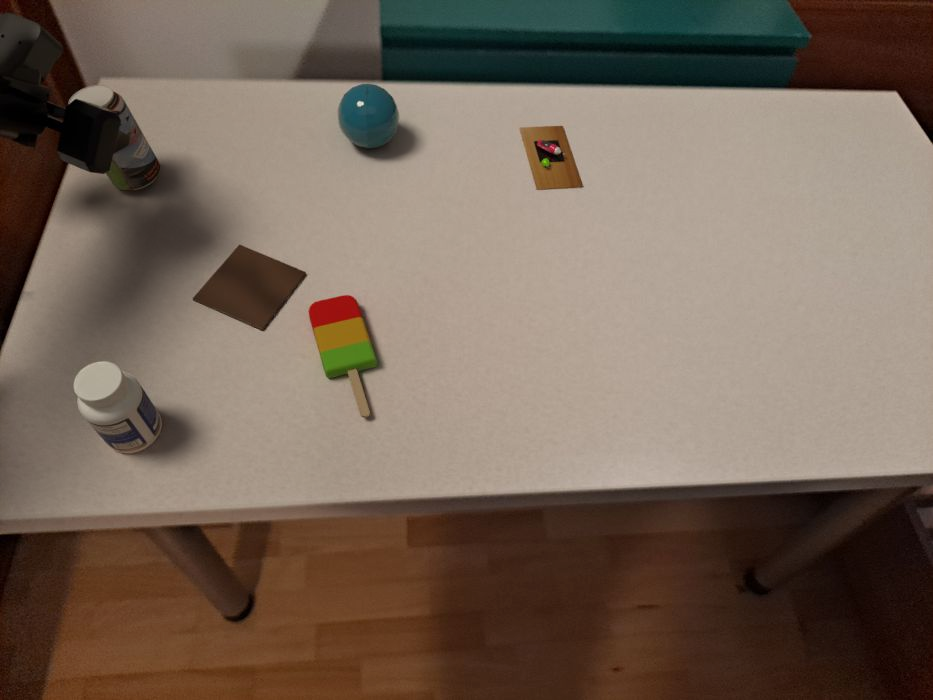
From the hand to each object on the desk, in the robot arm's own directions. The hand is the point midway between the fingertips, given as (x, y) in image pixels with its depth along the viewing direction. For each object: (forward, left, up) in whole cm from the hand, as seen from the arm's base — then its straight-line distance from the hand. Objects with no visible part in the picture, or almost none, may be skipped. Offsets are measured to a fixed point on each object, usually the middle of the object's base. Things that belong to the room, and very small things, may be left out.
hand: (94, 126), depth 77 cm
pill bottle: (-5, -34, -10) cm, 35 cm away
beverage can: (+1, +1, -10) cm, 10 cm away
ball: (+31, -2, -10) cm, 33 cm away
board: (+53, -13, -10) cm, 56 cm away
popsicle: (+17, -34, -10) cm, 39 cm away
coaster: (+10, -20, -9) cm, 25 cm away
